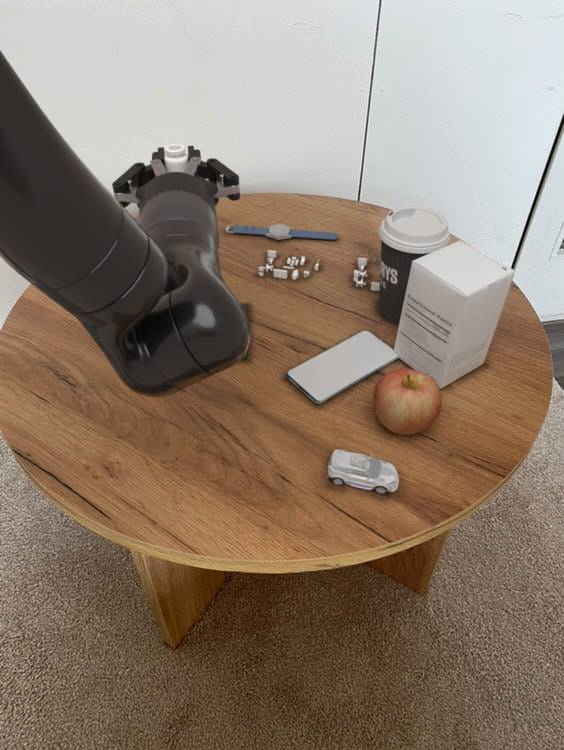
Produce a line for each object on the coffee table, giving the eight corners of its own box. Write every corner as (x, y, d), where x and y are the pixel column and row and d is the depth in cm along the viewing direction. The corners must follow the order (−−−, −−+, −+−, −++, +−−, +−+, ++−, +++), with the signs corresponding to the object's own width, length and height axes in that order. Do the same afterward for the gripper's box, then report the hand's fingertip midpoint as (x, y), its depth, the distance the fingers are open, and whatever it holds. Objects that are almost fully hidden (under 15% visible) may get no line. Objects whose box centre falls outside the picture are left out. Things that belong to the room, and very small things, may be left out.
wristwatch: (227, 224, 105) (226, 219, 104) (338, 232, 103) (338, 227, 102) (222, 237, 102) (222, 231, 101) (337, 245, 100) (337, 240, 99)
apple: (358, 430, 70) (364, 383, 65) (384, 390, 75) (393, 343, 70) (420, 457, 67) (433, 411, 62) (444, 413, 72) (458, 367, 67)
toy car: (396, 498, 63) (400, 482, 61) (324, 483, 65) (326, 467, 63) (399, 471, 66) (403, 455, 64) (330, 457, 67) (332, 441, 65)
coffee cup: (398, 284, 92) (413, 195, 81) (446, 313, 87) (468, 222, 76) (355, 307, 88) (365, 217, 77) (402, 339, 82) (420, 247, 72)
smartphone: (283, 373, 76) (366, 328, 83) (283, 375, 77) (366, 331, 83) (317, 403, 72) (401, 354, 79) (317, 406, 73) (401, 357, 79)
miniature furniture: (269, 252, 98) (269, 244, 97) (419, 271, 94) (420, 263, 93) (259, 275, 93) (258, 267, 92) (416, 297, 89) (417, 289, 88)
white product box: (435, 329, 84) (460, 237, 74) (484, 364, 79) (519, 270, 68) (390, 353, 80) (410, 258, 70) (438, 391, 75) (468, 295, 64)
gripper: (249, 187, 54) (234, 118, 66) (94, 197, 52) (108, 125, 65) (252, 257, 59) (238, 181, 71) (111, 268, 57) (121, 188, 70)
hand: (176, 154), depth 68 cm, fingers closed on cosmetic bottle, 3 cm apart
